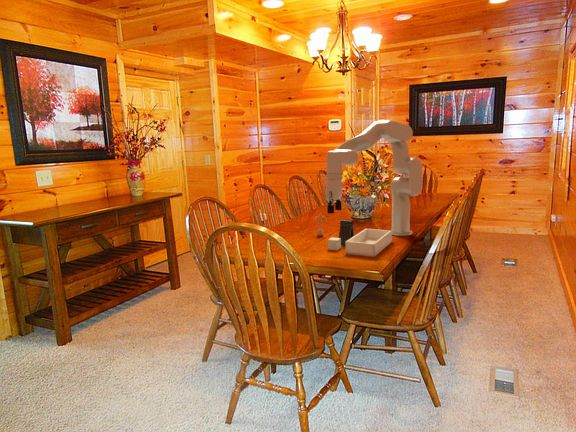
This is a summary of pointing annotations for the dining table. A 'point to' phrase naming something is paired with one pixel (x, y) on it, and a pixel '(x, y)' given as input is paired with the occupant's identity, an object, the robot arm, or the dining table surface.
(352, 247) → the tote
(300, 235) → the dining table surface
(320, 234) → the figurine
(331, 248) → the beige cube
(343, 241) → the phone stand
